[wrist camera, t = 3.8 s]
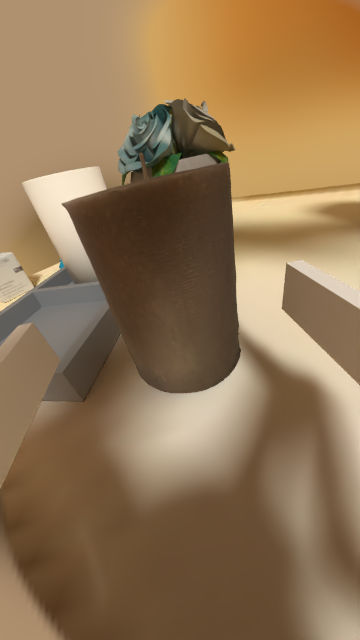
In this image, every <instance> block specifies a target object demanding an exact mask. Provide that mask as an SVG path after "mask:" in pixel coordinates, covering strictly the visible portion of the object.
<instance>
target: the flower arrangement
mask: <svg viewBox="0 0 360 640" xmlns="http://www.w3.org/2000/svg"><path fill="white" fill-rule="evenodd" d="M164 102H165V103H167V104H169V106H167V105H164V104H159V105H157V106H156V107H155V108H154V110H153V111H152V112H148V113H147V114H146V115H144V116H143V117H141V118H139V117H140V116H139V117H138V116H136V115H133V117H132V125H131V127H130V129H129V133H128V134H127V136H126V138H125V141H124V144H123V145H122V147H121V148H120V149H119V151H118V155H119V157H120V160H119V162H118V170H119V172H120V173H122V174H123V175H122V185H124V181H125V178H126V174H128V173H129V172H130V171H133V172H131V183H134V182H138V181H142V180H144V174H143V168H142V165H141V161H140V157H139V153H143V155H144V158H145V164H146V167H147V172H148V177H149V179H151V178H154V177H158V176H162V175H167V174H171V173H176V172H181V171H186V170H191V169H197V168H201V167H205V166H209V165H215V164H219V163H226V162H228V157H226V156H225V155H224V154H223V153H222V152H224V151H229V152H231V151H234V150H235V148H234V146H233V145H232V144H228V143H227V140H226V139H225V136H224V133H223V130H222V128H221V126H220V125H219V124H218V123H217V121H216V120H215V119H214V118H213V117H212V116H210V115H209V114H208V113H207V112H208V108H207V105H206V102H205V101H203V102H202V104H201V106H203V107H202V109H201V108H200V107H199V106H194V105H192V104H189V103H188V101H187V100H186V99H184V100H179V99H177V100H165V101H164Z"/></svg>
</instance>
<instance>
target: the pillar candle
mask: <svg viewBox="0 0 360 640" xmlns="http://www.w3.org/2000/svg"><path fill="white" fill-rule="evenodd" d="M139 157H140V161H141V165H142V168H143V174H144V180H142V181H138V182H134V183H130V184H127V185H122V186H118V187H114V188H110V189H106V190H103V191H99V192H96V193H93V194H90V195H86V196H83V197H79V198H75V199H73V200H70V201H67V202H65V203H61V204H62V206H63V207H65V209H66V210H67V211H68V213H69V215H70V218H71V220H72V222H73V224H74V226H75V229H76V232H77V234H78V236H79V238H80V241H81V243H82V245H83V247H84V250H85V252H86V254H87V256H88V258H89V260H90V262H91V265H92V267H93V269H94V272H95V274H96V276H97V279H98V281H99V284H100V286H101V288H102V291H103V292H104V294H105V297H106V300H107V303H108V305H109V307H110V310H111V312H112V314H113V317H114V319H115V321H116V324H117V326H118V328H119V329H120V332H121V334H122V336H123V338H124V340H125V343H126V345H127V347H128V350H129V351H130V353H131V355H132V357H133V360H134V362H135V364H136V367H137V369H138V371H139V373H140V375H141V377H142V378H143V379H144V380H145V381H146V382H147V383H148V384H149V385H151V386H152V387H154V388H156V389H158V390H161V391H164V392H169V393H192V392H198V391H203V390H206V389H209V388H210V387H213V386H215V385H217V384H218V383H220V382H221V381H223V380H224V379H225V377H227V376H229V375H230V373H231V372H232V371H233V370H234V368H235V367H236V364H237V363H238V360H239V358H240V352H241V349H240V348H239V341H238V340H239V339H238V335H239V333H238V327H239V323H238V314H237V302H236V269H235V258H234V257H235V256H234V238H233V215H232V201H231V180H230V168H229V163H228V162H226V163H219V164H215V165H209V166H205V167H201V168H197V169H191V170H186V171H181V172H176V173H171V174H167V175H162V176H158V177H154V178H151V179H149V177H148V172H147V167H146V164H145V158H144V155H143V153H139Z"/></svg>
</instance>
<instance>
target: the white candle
mask: <svg viewBox="0 0 360 640" xmlns="http://www.w3.org/2000/svg"><path fill="white" fill-rule="evenodd" d="M22 185H23V187H24V189H25V191H26V193H27V195H28V197H29V199H30V201H31V203H32V205H33V206H34V208H35V210H36V212H37V214H38V216H39V218H40V220H41V222H42V223H43V225H44V227H45V229H46V231H47V233H48V235H49V237H50V239H51V241H52V243H53V245H54V247H55V248H56V250H57V252H58V254H59V256H60V258H61V260H62V262H63V264H64V266H65V268H66V270H67V272H68V273H69V275H70V277H71V279H72V281H73V283H74V284H81V283H89V282H97V281H98V279H97V276H96V274H95V272H94V269H93V267H92V265H91V262H90V260H89V258H88V256H87V254H86V252H85V250H84V247H83V245H82V243H81V241H80V238H79V236H78V234H77V232H76V229H75V226H74V224H73V222H72V220H71V218H70V215H69V213H68V211H67V210H66V209H65V207H63V206H62V204H61V203H65V202H67V201H70V200H73V199H75V198H79V197H83V196H86V195H90V194H93V193H96V192H99V191H103V190H106V189H107V188H106V185H105V183H104V180H103V176H102V173H101V170H100V168H99V167H89V168H83V169H77V170H71V171H66V172H61V173H56V174H51V175H47V176H43V177H39V178H35V179H32V180H28V181H26V182H23V183H22Z"/></svg>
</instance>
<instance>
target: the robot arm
mask: <svg viewBox="0 0 360 640" xmlns="http://www.w3.org/2000/svg"><path fill="white" fill-rule="evenodd" d="M282 309H283V310H284V311H285V312H286V313H287V314H288V315H289V316H290V317H291V318H292V319H293V320H294V321H295V322H296V323H297V324H298V325H299V326H300V327H301V328H302V329H303V330H304V331H305V332H306V333H307V334H308V335H309V336H310V337H311V338H312V339H313V340H314V341H315V342H316V343H317V344H318V345H319V346H320V347H322V348H323V349H324V350H325V351H326V352H327V353H328V354H329V355H330V356H331V357H332V358H333V359H334V360H335V361H336V362H337V363H338V364H339V365H340V366H341V367H342V368H343V369H344V370H345V371H346V372H347V373H348V374H349V375H350V376H351V377H352V378H353V379H354V380H355V381H356V382H357V383H358V384H359V385H360V291H358V290H356V289H354V288H353V287H351V286H349V285H347V284H345V283H343V282H341V281H340V280H338V279H336V278H334V277H332V276H330V275H329V274H327V273H325V272H323V271H321V270H319V269H318V268H316V267H314V266H312V265H310V264H308V263H306V262H305V261H303V260H298V261H294V262H289V263H286V273H285V283H284V293H283V303H282ZM59 362H60V359H59V357H58V356H57V355H56V353H55V352H54V351H53V349H52V348H51V346H50V345H49V344H48V342H47V341H46V340H45V338H44V337H43V335H42V334H41V333H40V331H39V330H38V329H37V327H36V326H35V324H34V323H33V322H32V323H27V324H23V325H19V326H17V327H16V329H15V330H14V331H13V332H12V333H11V335H10V336H9V337H8V338H7V339H6V340H5V342H4V343H3V344H2V345H1V346H0V489H1V487H2V485H3V483H4V480H5V478H6V476H7V474H8V472H9V470H10V468H11V465H12V463H13V461H14V459H15V457H16V455H17V453H18V450H19V448H20V446H21V444H22V442H23V440H24V437H25V435H26V433H27V431H28V429H29V427H30V425H31V422H32V420H33V418H34V416H35V414H36V412H37V410H38V407H39V405H40V403H41V401H42V399H43V397H44V394H45V392H46V390H47V388H48V386H49V384H50V382H51V379H52V377H53V375H54V373H55V371H56V369H57V367H58V364H59Z"/></svg>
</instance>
